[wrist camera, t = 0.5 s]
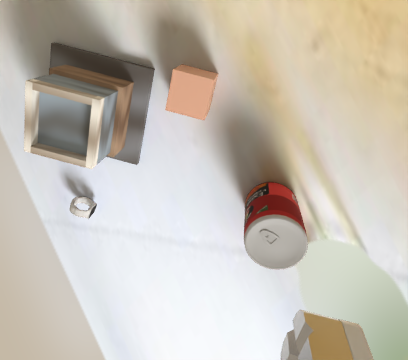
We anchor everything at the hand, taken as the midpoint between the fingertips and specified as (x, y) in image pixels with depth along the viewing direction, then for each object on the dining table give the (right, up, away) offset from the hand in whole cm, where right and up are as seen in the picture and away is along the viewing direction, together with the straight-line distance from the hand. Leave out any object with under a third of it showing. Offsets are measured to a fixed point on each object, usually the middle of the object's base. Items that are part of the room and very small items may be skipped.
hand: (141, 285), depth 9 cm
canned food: (+12, -1, +45) cm, 46 cm away
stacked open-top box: (-13, +13, +42) cm, 46 cm away
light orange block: (+1, +15, +39) cm, 42 cm away
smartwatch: (-17, -1, +49) cm, 51 cm away
